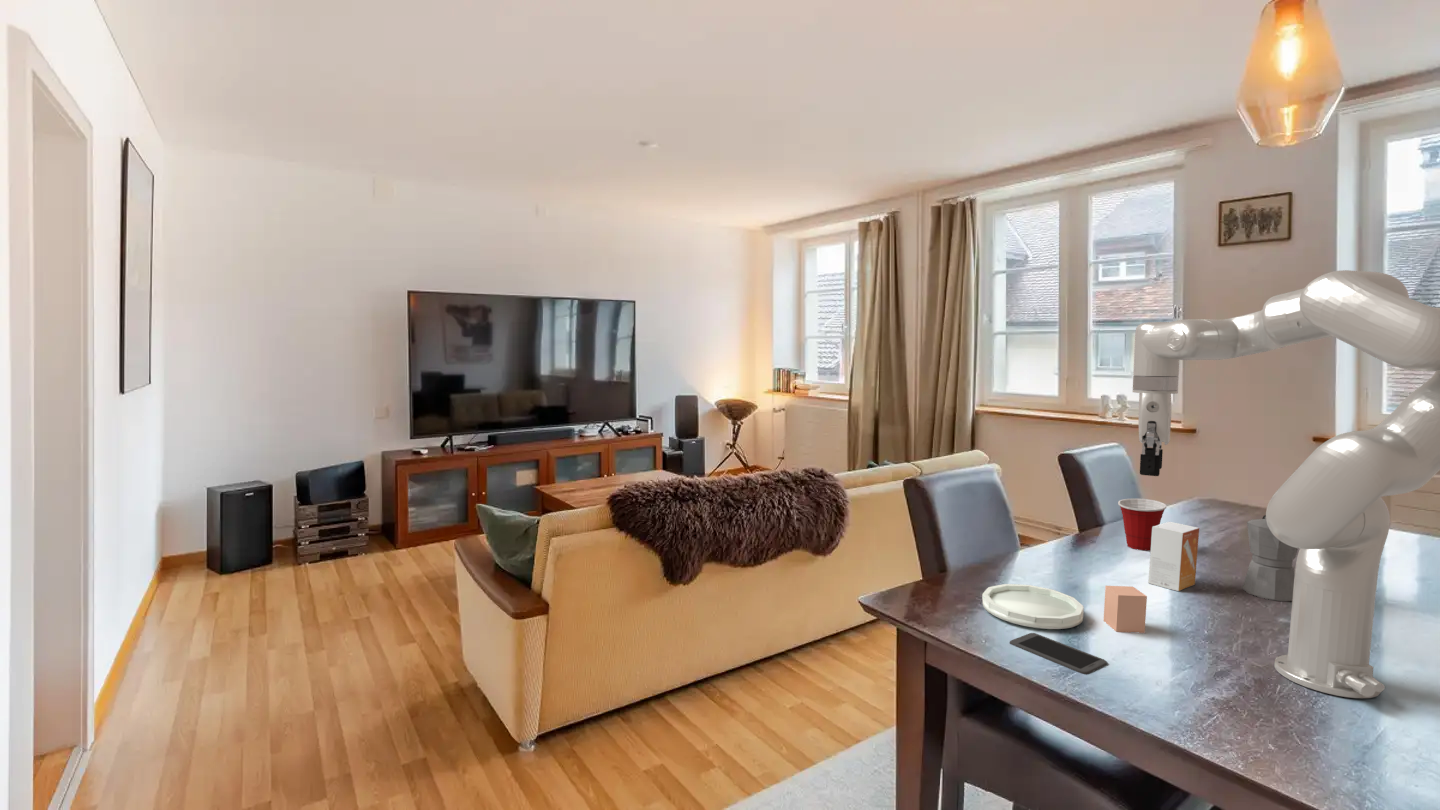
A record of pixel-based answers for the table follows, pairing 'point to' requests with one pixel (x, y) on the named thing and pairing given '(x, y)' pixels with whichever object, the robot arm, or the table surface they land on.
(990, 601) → the dish
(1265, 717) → the table surface
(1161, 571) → the small box
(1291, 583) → the coffeepot
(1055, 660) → the cell phone
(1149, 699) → the table surface
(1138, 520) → the plastic cup
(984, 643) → the table surface
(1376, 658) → the table surface
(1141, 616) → the block
